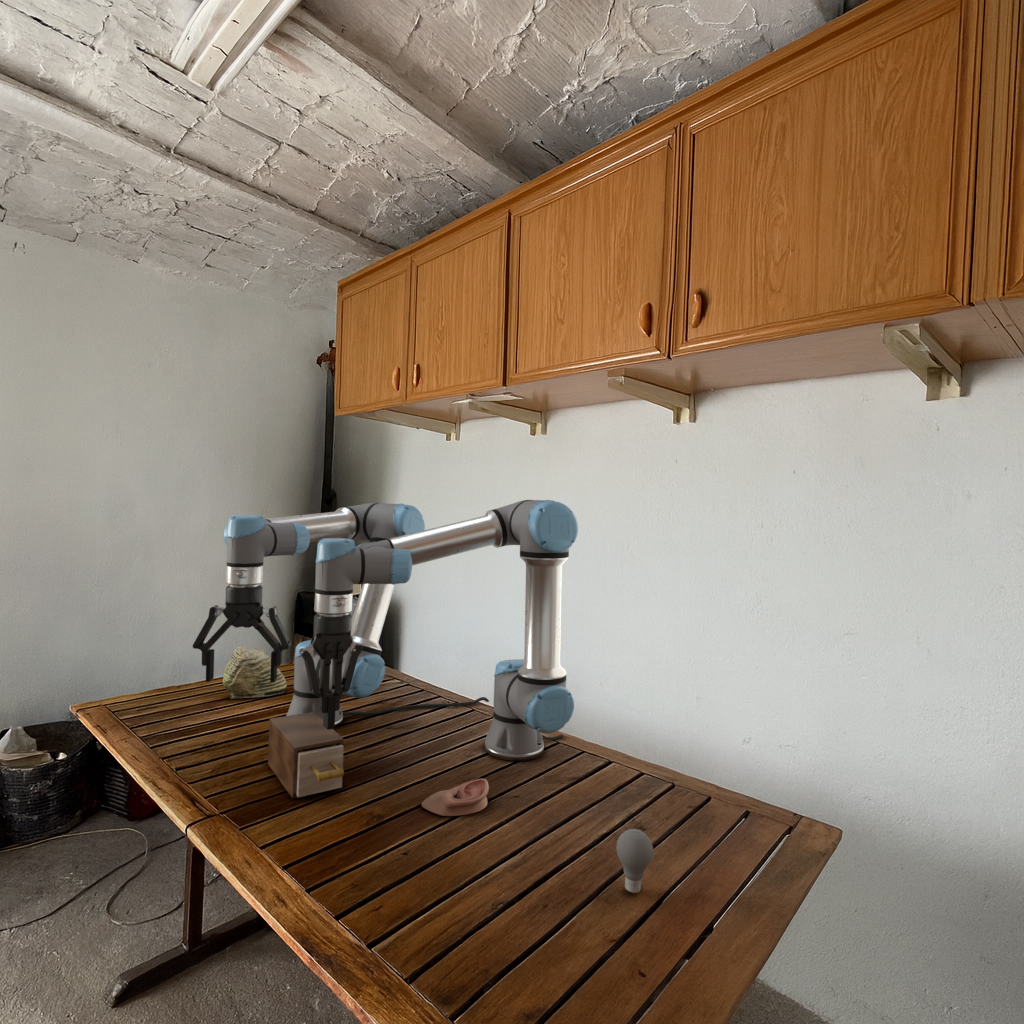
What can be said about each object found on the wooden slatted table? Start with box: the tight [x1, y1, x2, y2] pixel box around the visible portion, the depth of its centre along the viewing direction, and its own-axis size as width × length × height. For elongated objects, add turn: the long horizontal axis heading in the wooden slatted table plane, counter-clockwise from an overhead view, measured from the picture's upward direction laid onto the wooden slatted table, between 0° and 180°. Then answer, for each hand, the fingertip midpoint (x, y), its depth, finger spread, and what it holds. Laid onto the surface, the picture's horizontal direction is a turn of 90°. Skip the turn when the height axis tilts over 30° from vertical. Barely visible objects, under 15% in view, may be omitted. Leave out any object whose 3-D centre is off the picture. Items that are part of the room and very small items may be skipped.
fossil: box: [222, 646, 288, 699], centre depth 198 cm, size 9×18×15 cm, turn 132°
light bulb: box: [615, 828, 654, 894], centre depth 106 cm, size 6×6×10 cm
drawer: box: [297, 744, 345, 798], centre depth 139 cm, size 25×9×9 cm, turn 35°
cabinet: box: [267, 712, 344, 799], centre depth 143 cm, size 20×10×11 cm, turn 35°
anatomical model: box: [421, 778, 490, 817], centre depth 133 cm, size 13×4×12 cm
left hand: (241, 680), depth 141 cm, fingers open, 13 cm apart
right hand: (328, 726), depth 131 cm, fingers closed
